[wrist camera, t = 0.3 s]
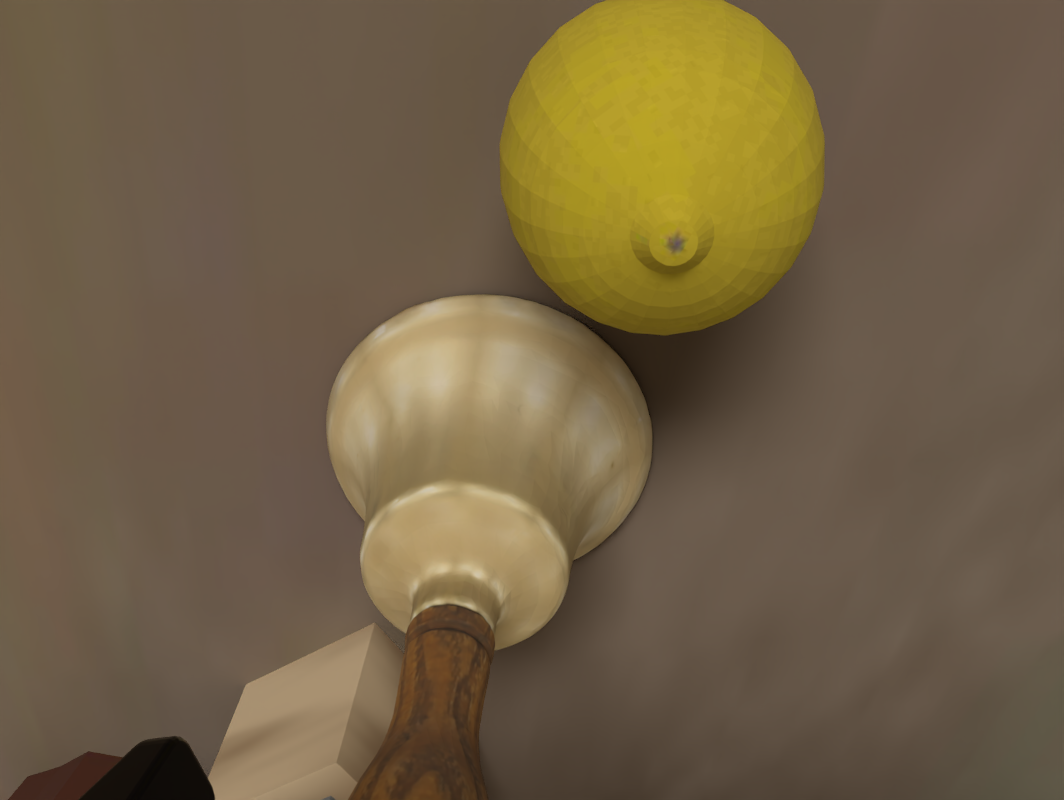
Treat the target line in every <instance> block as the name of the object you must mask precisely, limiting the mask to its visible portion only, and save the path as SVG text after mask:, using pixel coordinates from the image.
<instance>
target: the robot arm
mask: <svg viewBox="0 0 1064 800" xmlns="http://www.w3.org/2000/svg"><path fill="white" fill-rule="evenodd" d="M78 800H215V795H214V791H213V788H212V785H211V783H210V781H209V780H208V778H207V776H206V774H205V773H204V771H203V769H202V767H201V765H200V764H199V762H198V760H197V758H196V756H195V755H194V753H193V751H192V749H191V747H190V746H189V744H188V743H187V741H185V740H184V739H182V738H181V737H177V736H172V737H163V738H155V739H148V740H145V741H142V742H140V743H139V744H137V745H136V746H135V747H134V748H133V749H132V750H131V751H129V752H128V753H127V754H126V755H125V756H124V757H123V758H122V759H121V760H120V761H119V762H118V763H117V764H116V765H114V766H113V767H112V768H111V769H110V770H109V771H108V772H107V773H106V774H105V775H104V776H103V777H102V778H101V779H99V780H98V781H97V782H96V783H95V784H94V785H93V786H92V787H91V788H90V789H89V790H88V791H87V792H86V793H84V794H83V795H82V796H81V797H80V798H79V799H78Z"/></svg>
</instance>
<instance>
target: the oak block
mask: <svg viewBox="0 0 1064 800" xmlns="http://www.w3.org/2000/svg"><path fill="white" fill-rule="evenodd" d="M403 656H404V653H403V652H402V651H401V650H400V649H399V648H398V647H397V646H396V645H395V644H394V643H393V642H392V641H391V639H390V638H389V637H388V636H387V635H386V634H385V633H384V632H383V631H382V630H381V629H380V628H379V627H378V626H377V624H376V623H373V624H371V625H369V626H367V627H365V628H363V629H361V630H359V631H357V632H355V633H352V634H350V635H348V636H346V637H344V638H342V639H340V640H338V641H336V642H334V643H332V644H330V645H328V646H325V647H323V648H321V649H319V650H317V651H315V652H313V653H311V654H309V655H307V656H305V657H303V658H301V659H298V660H296V661H294V662H292V663H290V664H288V665H286V666H284V667H282V668H280V669H278V670H276V671H273V672H271V673H269V674H267V675H265V676H263V677H261V678H259V679H257V680H255V681H253V682H251V683H249V684H246V686H245V688H244V691H243V693H242V696H241V698H240V701H239V703H238V706H237V708H236V711H235V713H234V715H233V718H232V720H231V723H230V725H229V728H228V730H227V733H226V735H225V738H224V740H223V743H222V745H221V747H220V750H219V752H218V755H217V757H216V760H215V762H214V765H213V767H212V770H211V772H210V775H209V777H208V780H209V781H210V783H211V785H212V788H213V791H214V795H215V800H348V799H349V797H350V795H351V793H352V792H353V790H354V788H355V786H356V785H357V783H358V781H359V779H360V778H361V776H362V775H363V773H364V772H365V770H366V769H367V768H368V766H369V765H370V763H371V762H372V760H373V759H374V757H375V756H376V754H377V752H378V750H379V749H380V747H381V745H382V743H383V741H384V739H385V737H386V734H387V732H388V729H389V726H390V723H391V720H392V717H393V713H394V708H395V702H396V697H397V691H398V686H399V679H400V673H401V666H402V660H403Z"/></svg>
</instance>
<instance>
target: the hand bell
mask: <svg viewBox="0 0 1064 800" xmlns="http://www.w3.org/2000/svg"><path fill="white" fill-rule="evenodd" d="M326 432H327V444H328V450H329V454H330V459H331V462H332V465H333V468H334V471H335V474H336V477H337V479H338V481H339V483H340V485H341V487H342V489H343V491H344V493H345V495H346V497H347V498H348V500H349V501H350V503H351V504H352V506H353V507H354V509H355V510H356V512H357V513H358V514H359V515H360V517H361V518H362V519H363V520H364V521H365V525H364V533H363V539H362V543H361V549H360V563H361V572H362V577H363V582H364V585H365V587H366V590H367V592H368V594H369V596H370V598H371V599H372V601H373V603H374V604H375V606H376V607H377V608H378V609H379V611H380V612H381V613H382V614H383V615H384V617H385V618H386V619H388V620H389V621H390V622H391V623H392V624H393V625H394V626H395V627H396V628H398V629H399V630H401V631H402V632H404V633H405V634H406V637H405V653H404V656H403V660H402V666H401V673H400V679H399V686H398V691H397V697H396V702H395V708H394V713H393V717H392V720H391V723H390V726H389V729H388V732H387V734H386V737H385V739H384V741H383V743H382V745H381V747H380V749H379V750H378V752H377V754H376V756H375V757H374V759H373V760H372V762H371V763H370V765H369V766H368V768H367V769H366V770H365V772H364V773H363V775H362V776H361V778H360V779H359V781H358V783H357V785H356V786H355V788H354V790H353V792H352V793H351V795H350V797H349V799H348V800H488V796H487V791H486V787H485V783H484V780H483V776H482V772H481V765H480V758H479V728H480V722H481V716H482V709H483V703H484V698H485V694H486V689H487V684H488V679H489V673H490V665H491V663H492V659H493V655H494V650H499V649H503V648H506V647H509V646H512V645H514V644H516V643H519V642H521V641H523V640H525V639H527V638H528V637H530V636H532V635H534V634H535V633H536V632H537V631H539V630H540V629H541V628H542V627H544V626H545V625H546V624H547V623H548V621H549V620H550V619H551V618H552V617H553V616H554V614H555V613H556V611H557V610H558V608H559V606H560V605H561V603H562V601H563V598H564V596H565V594H566V591H567V587H568V583H569V577H570V571H571V567H572V563H573V560H575V559H577V558H579V557H581V556H583V555H585V554H586V553H588V552H589V551H591V550H592V549H594V548H595V547H596V546H598V545H599V544H601V543H602V542H603V541H604V540H605V539H606V538H607V537H608V536H609V535H611V534H612V533H613V532H614V531H615V530H616V529H617V528H618V527H619V525H620V524H621V523H622V522H623V521H624V520H625V518H626V517H627V516H628V514H629V513H630V512H631V510H632V509H633V507H634V506H635V504H636V502H637V501H638V499H639V497H640V495H641V492H642V490H643V488H644V486H645V483H646V480H647V477H648V473H649V469H650V465H651V458H652V425H651V419H650V416H649V413H648V408H647V403H646V401H645V398H644V396H643V394H642V392H641V389H640V387H639V385H638V383H637V381H636V380H635V378H634V376H633V375H632V373H631V372H630V370H629V368H628V367H627V365H626V364H625V362H624V361H623V360H622V359H621V358H620V357H619V355H618V354H617V353H616V352H615V351H614V350H613V349H612V348H611V347H610V346H609V345H608V344H607V343H605V342H604V341H603V340H602V339H601V338H600V337H599V336H598V335H597V334H595V333H594V332H593V331H591V330H590V329H589V328H587V327H586V326H585V325H583V324H582V323H580V322H578V321H577V320H575V319H573V318H571V317H570V316H567V315H565V314H563V313H561V312H559V311H557V310H554V309H552V308H550V307H548V306H544V305H541V304H539V303H536V302H534V301H530V300H525V299H520V298H515V297H509V296H502V295H488V294H484V295H460V296H453V297H446V298H440V299H437V300H433V301H430V302H425V303H422V304H418V305H415V306H412V307H410V308H408V309H405V310H404V311H402V312H400V313H399V314H397V315H396V316H394V317H392V318H390V319H389V320H387V321H385V322H384V323H382V324H381V325H380V326H378V327H377V328H376V329H375V330H373V331H372V332H371V333H370V334H369V335H367V336H366V337H365V338H364V339H363V340H362V341H361V342H360V343H359V344H358V345H357V347H356V348H355V349H354V350H353V351H352V353H351V354H350V356H349V357H348V358H347V359H346V361H345V362H344V364H343V366H342V368H341V369H340V371H339V373H338V375H337V377H336V380H335V382H334V385H333V387H332V391H331V394H330V398H329V403H328V409H327V418H326Z"/></svg>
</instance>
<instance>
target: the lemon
mask: <svg viewBox="0 0 1064 800" xmlns="http://www.w3.org/2000/svg"><path fill="white" fill-rule="evenodd" d="M824 147H825V143H824V133H823V130H822V126H821V122H820V118H819V114H818V110H817V106H816V102H815V98H814V94H813V91H812V88H811V87H810V85H809V83H808V81H807V80H806V78H805V76H804V74H803V73H802V71H801V69H800V68H799V66H798V64H797V62H796V61H795V59H794V57H793V55H792V54H791V52H790V50H789V49H788V48H787V47H786V46H785V45H784V44H783V43H782V42H781V41H780V40H779V39H778V38H777V37H776V36H775V35H774V34H773V33H772V32H771V31H769V30H768V29H767V28H766V27H765V26H764V25H763V24H762V23H761V22H760V21H759V20H758V19H757V18H756V17H754V16H752V15H750V14H749V13H747V12H745V11H743V10H741V9H739V8H737V7H735V6H733V5H731V4H729V3H728V2H726V1H724V0H606V1H603V2H600V3H597V4H595V5H593V6H592V7H590V8H589V9H587V10H586V11H584V12H583V13H581V14H580V15H578V16H576V17H575V18H573V19H572V20H570V21H569V22H567V23H566V24H564V25H563V26H561V27H560V28H559V29H558V30H557V31H556V32H555V33H554V35H553V36H552V37H551V38H550V39H549V40H548V41H547V42H546V44H545V45H544V46H543V47H542V48H541V49H540V50H539V51H538V52H537V54H536V55H535V56H534V57H533V58H532V59H531V60H530V62H529V64H528V66H527V68H526V70H525V72H524V74H523V76H522V78H521V80H520V81H519V83H518V85H517V87H516V89H515V91H514V93H513V95H512V97H511V99H510V102H509V106H508V110H507V114H506V119H505V123H504V127H503V131H502V135H501V139H500V184H501V193H502V196H503V200H504V203H505V207H506V210H507V214H508V217H509V221H510V224H511V228H512V231H513V234H514V236H515V238H516V240H517V242H518V243H519V245H520V247H521V248H522V250H523V252H524V254H525V255H526V257H527V259H528V260H529V262H530V264H531V266H532V267H533V269H534V271H535V272H536V274H537V275H538V276H539V277H540V278H541V279H542V280H543V281H544V282H545V283H546V284H547V285H548V286H549V287H550V288H551V289H552V290H553V291H554V292H555V293H556V294H557V295H558V296H559V297H560V298H561V299H562V300H563V301H564V302H565V303H566V304H568V305H570V306H571V307H573V308H575V309H577V310H578V311H580V312H582V313H583V314H585V315H587V316H588V317H590V318H592V319H593V320H595V321H597V322H599V323H602V324H605V325H609V326H612V327H615V328H618V329H621V330H624V331H627V332H631V333H641V334H655V335H671V334H678V333H685V332H691V331H698V330H702V329H705V328H707V327H710V326H712V325H715V324H718V323H720V322H723V321H725V320H728V319H731V318H733V317H735V316H736V315H738V314H739V313H741V312H742V311H744V310H745V309H747V308H748V307H750V306H751V305H753V304H754V303H756V302H757V301H759V300H760V299H762V298H763V297H764V296H765V295H766V294H767V293H768V292H769V291H770V290H771V288H772V287H773V286H774V285H775V284H776V283H777V282H778V281H779V280H780V279H781V278H782V277H783V276H784V274H785V273H786V272H787V271H788V270H789V269H790V268H791V267H792V265H793V263H794V262H795V260H796V258H797V256H798V255H799V253H800V251H801V249H802V248H803V246H804V244H805V242H806V241H807V239H808V237H809V235H810V233H811V231H812V228H813V224H814V221H815V217H816V214H817V210H818V207H819V203H820V200H821V196H822V192H823V187H824Z"/></svg>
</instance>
